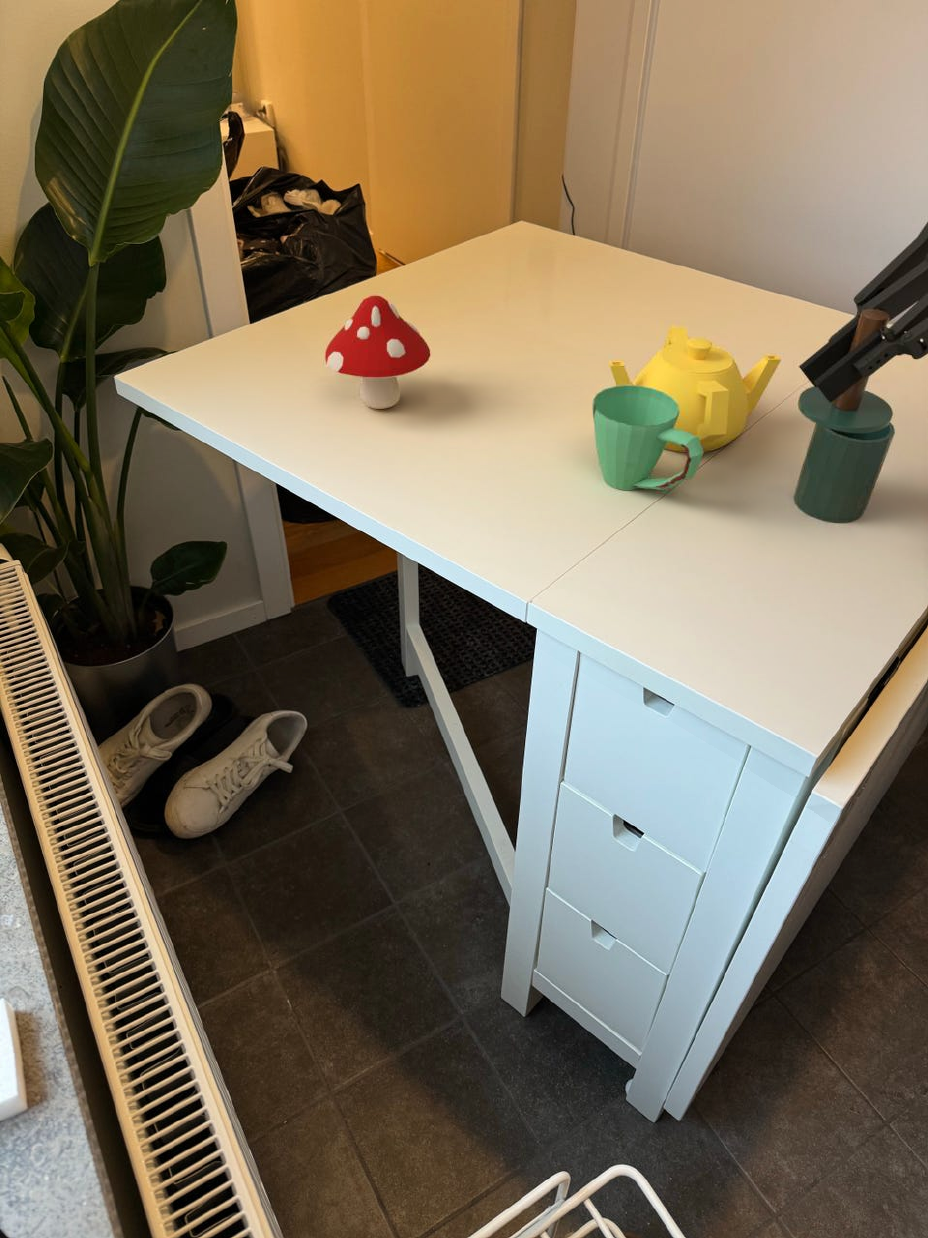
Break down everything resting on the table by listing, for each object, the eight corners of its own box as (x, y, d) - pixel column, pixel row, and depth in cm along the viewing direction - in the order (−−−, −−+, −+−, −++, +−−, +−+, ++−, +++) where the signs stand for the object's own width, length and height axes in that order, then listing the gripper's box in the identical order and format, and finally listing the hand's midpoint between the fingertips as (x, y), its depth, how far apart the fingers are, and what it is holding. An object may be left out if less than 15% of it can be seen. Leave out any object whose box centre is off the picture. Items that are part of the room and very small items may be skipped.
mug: (566, 476, 108) (575, 401, 102) (620, 449, 113) (632, 376, 107) (659, 530, 100) (675, 453, 94) (713, 500, 105) (732, 424, 99)
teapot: (659, 386, 127) (673, 303, 119) (769, 424, 119) (792, 338, 111) (596, 431, 117) (607, 344, 109) (711, 476, 109) (732, 385, 101)
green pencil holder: (879, 511, 104) (910, 431, 97) (829, 530, 101) (858, 449, 94) (827, 478, 109) (854, 400, 102) (779, 495, 106) (803, 415, 99)
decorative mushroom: (356, 440, 114) (347, 327, 104) (310, 396, 123) (298, 288, 113) (449, 413, 120) (450, 303, 110) (399, 373, 128) (396, 267, 119)
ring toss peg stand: (908, 425, 85) (948, 322, 78) (844, 447, 82) (880, 341, 75) (840, 388, 91) (872, 288, 84) (777, 406, 88) (805, 305, 81)
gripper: (1133, 253, 71) (872, 450, 80) (1014, 193, 82) (797, 371, 91) (1106, 184, 67) (834, 399, 76) (985, 131, 78) (761, 324, 87)
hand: (814, 384), depth 83 cm, fingers closed on ring toss peg stand, 2 cm apart
